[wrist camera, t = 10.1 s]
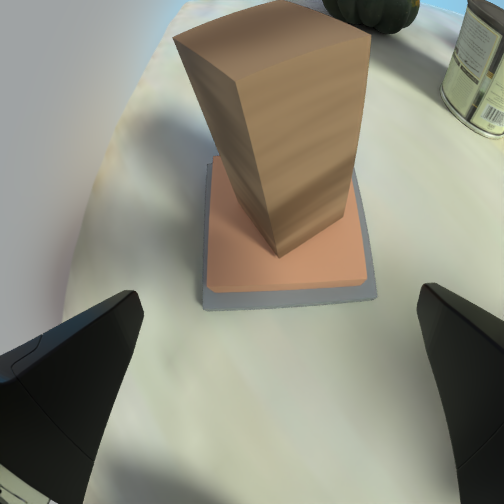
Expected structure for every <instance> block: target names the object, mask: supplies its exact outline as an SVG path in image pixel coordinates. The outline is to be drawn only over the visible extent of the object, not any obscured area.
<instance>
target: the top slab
mask: <svg viewBox="0 0 504 504" xmlns="http://www.w3.org/2000/svg"><path fill="white" fill-rule="evenodd" d="M366 280H367V271H366V262H365V254H364V247H363V240H362V233H361V227H360V220H359V214H358V209H357V203H356V197H355V192H354V187H353V182H352V178H351V183H350V188H349V193H348V198H347V202H346V207H345V211H344V216H343V217H342V218H341V219H339V220H338V221H336V222H335V223H333V224H332V225H330V226H329V227H327V228H326V229H324V230H323V231H321V232H320V233H318V234H317V235H315V236H314V237H312V238H311V239H309V240H308V241H306V242H304V243H303V244H301V245H300V246H298V247H297V248H295V249H294V250H292V251H291V252H289V253H288V254H286V255H284V256H283V257H281V258H280V259H279V258H278V257H277V256H276V254H275V253H274V251H273V250H272V249H271V247H270V246H269V244H268V243H267V242H266V240H265V239H264V237H263V236H262V235H261V233H260V232H259V230H258V229H257V228H256V226H255V225H254V223H253V222H252V221H251V219H250V218H249V216H248V215H247V214H246V212H245V211H244V210H243V208H242V207H241V205H240V204H239V203H238V200H237V198H236V195H235V193H234V190H233V188H232V185H231V183H230V180H229V178H228V175H227V172H226V170H225V167H224V165H223V162H222V160H221V157H220V156H213V167H212V181H211V197H210V215H209V235H208V259H207V287H208V288H209V289H210V290H212V291H213V292H214V293H226V292H256V291H279V290H299V289H317V288H332V287H347V286H361V285H362V284H363V283H364V282H365V281H366Z"/></svg>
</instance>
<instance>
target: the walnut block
mask: <svg viewBox="0 0 504 504" xmlns="http://www.w3.org/2000/svg"><path fill="white" fill-rule="evenodd" d="M172 38H173V40H174V43H175V45H176V47H177V50H178V52H179V55H180V57H181V60H182V62H183V65H184V67H185V70H186V72H187V75H188V77H189V80H190V82H191V85H192V87H193V90H194V92H195V95H196V97H197V100H198V102H199V105H200V107H201V110H202V112H203V115H204V117H205V120H206V122H207V125H208V127H209V130H210V132H211V135H212V137H213V140H214V142H215V145H216V147H217V150H218V152H219V155H220V157H221V160H222V162H223V165H224V167H225V170H226V172H227V175H228V178H229V180H230V183H231V185H232V188H233V190H234V193H235V195H236V198H237V200H238V203H239V204H240V205H241V207H242V208H243V210H244V211H245V212H246V214H247V215H248V216H249V218H250V219H251V221H252V222H253V223H254V225H255V226H256V228H257V229H258V230H259V232H260V233H261V235H262V236H263V237H264V239H265V240H266V242H267V243H268V244H269V246H270V247H271V249H272V250H273V251H274V253H275V254H276V256H277V257H278V258H279V259H280V258H281V257H283V256H284V255H286V254H288V253H289V252H291V251H292V250H294V249H295V248H297V247H298V246H300V245H301V244H303V243H304V242H306V241H308V240H309V239H311V238H312V237H314V236H315V235H317V234H318V233H320V232H321V231H323V230H324V229H326V228H327V227H329V226H330V225H332V224H333V223H335V222H336V221H338V220H339V219H341V218H342V217H343V216H344V211H345V207H346V202H347V198H348V193H349V188H350V183H351V178H352V173H353V168H354V163H355V157H356V152H357V146H358V140H359V134H360V128H361V121H362V115H363V108H364V100H365V93H366V85H367V76H368V67H369V57H370V46H371V35H370V34H368V33H366V32H364V31H362V30H360V29H358V28H356V27H354V26H351V25H349V24H347V23H345V22H342V21H340V20H338V19H335V18H333V17H330V16H328V15H325V14H323V13H320V12H318V11H315V10H312V9H309V8H306V7H304V6H301V5H298V4H294V3H291V2H288V1H285V0H277V1H273V2H269V3H265V4H261V5H258V6H254V7H251V8H247V9H244V10H241V11H238V12H235V13H232V14H229V15H226V16H223V17H220V18H218V19H215V20H212V21H210V22H207V23H205V24H202V25H200V26H197V27H195V28H192V29H190V30H188V31H185V32H183V33H181V34H179V35H177V36H174V37H172Z"/></svg>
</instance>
